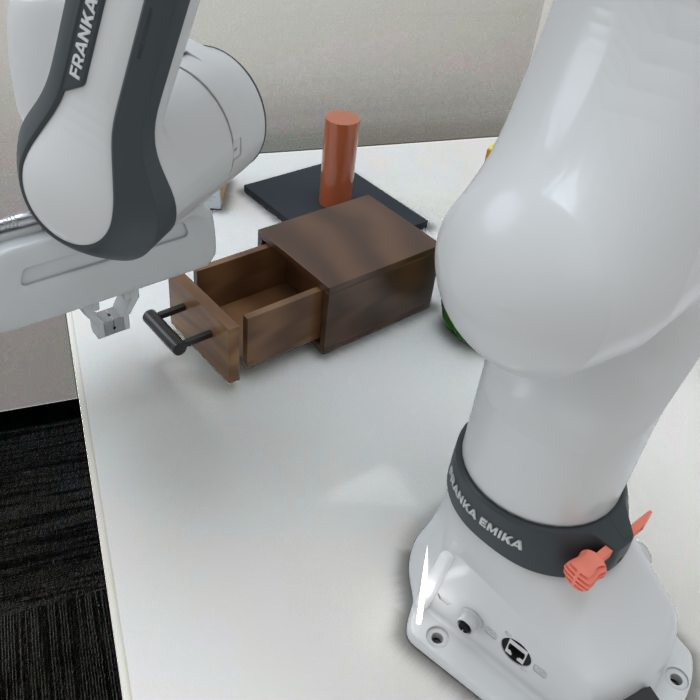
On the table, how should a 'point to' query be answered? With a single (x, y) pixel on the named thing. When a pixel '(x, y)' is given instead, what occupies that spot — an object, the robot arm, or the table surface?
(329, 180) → the orange cylinder
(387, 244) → the cabinet
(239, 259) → the drawer
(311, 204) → the mat
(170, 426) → the table surface
